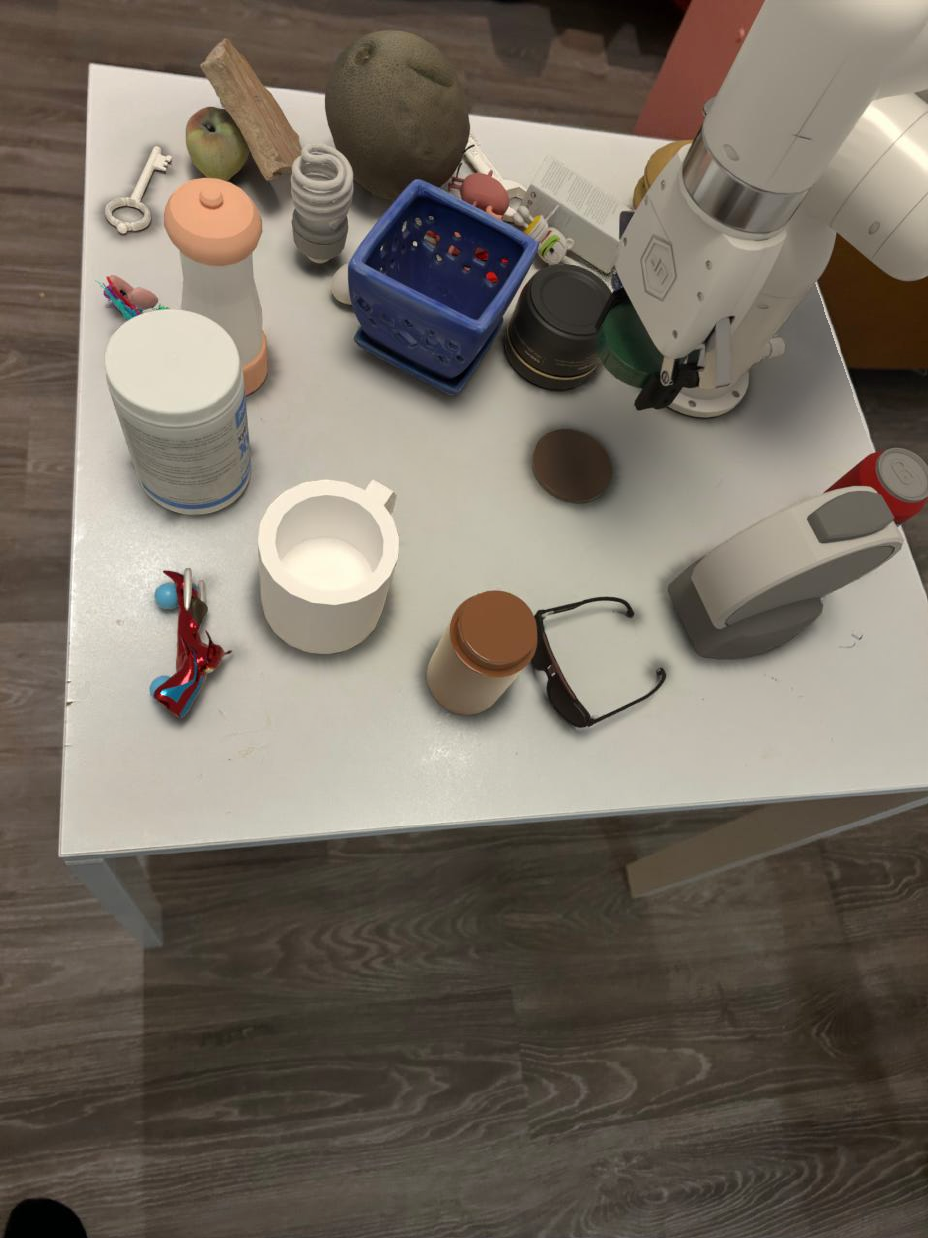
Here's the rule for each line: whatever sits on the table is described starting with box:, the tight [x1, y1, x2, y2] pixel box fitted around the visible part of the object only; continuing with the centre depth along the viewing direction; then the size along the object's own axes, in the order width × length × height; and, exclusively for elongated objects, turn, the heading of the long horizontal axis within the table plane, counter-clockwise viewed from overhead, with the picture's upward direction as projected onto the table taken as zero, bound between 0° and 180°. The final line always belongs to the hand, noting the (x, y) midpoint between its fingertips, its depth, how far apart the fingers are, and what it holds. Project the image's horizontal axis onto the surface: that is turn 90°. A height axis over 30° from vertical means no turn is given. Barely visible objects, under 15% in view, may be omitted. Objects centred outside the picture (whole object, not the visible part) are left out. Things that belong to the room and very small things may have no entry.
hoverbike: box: [148, 567, 233, 719], centre depth 63 cm, size 5×12×6 cm
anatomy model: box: [94, 274, 170, 322], centre depth 72 cm, size 5×8×7 cm, turn 60°
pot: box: [632, 139, 694, 210], centre depth 90 cm, size 12×12×10 cm
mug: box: [257, 479, 400, 655], centre depth 65 cm, size 14×10×11 cm
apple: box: [185, 106, 250, 182], centre depth 82 cm, size 6×8×6 cm
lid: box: [596, 301, 688, 389], centre depth 63 cm, size 7×7×2 cm
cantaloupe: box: [324, 29, 471, 201], centre depth 82 cm, size 14×14×15 cm
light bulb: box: [290, 142, 354, 264], centre depth 77 cm, size 6×6×12 cm
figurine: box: [425, 170, 510, 255], centre depth 86 cm, size 12×3×7 cm
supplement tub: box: [103, 308, 252, 516], centre depth 65 cm, size 10×10×15 cm
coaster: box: [531, 428, 613, 504], centre depth 79 cm, size 8×8×1 cm
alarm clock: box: [667, 486, 905, 660], centre depth 69 cm, size 16×10×18 cm, turn 110°
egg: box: [330, 261, 382, 306], centre depth 80 cm, size 4×6×4 cm
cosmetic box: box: [516, 154, 632, 274], centre depth 88 cm, size 6×4×12 cm
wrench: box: [464, 131, 528, 223], centre depth 92 cm, size 25×5×2 cm, turn 33°
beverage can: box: [821, 447, 928, 528], centre depth 77 cm, size 7×7×12 cm
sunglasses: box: [530, 596, 667, 729], centre depth 70 cm, size 10×12×5 cm
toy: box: [455, 145, 574, 267], centre depth 84 cm, size 7×3×15 cm
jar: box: [504, 263, 613, 390], centre depth 81 cm, size 10×10×8 cm
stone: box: [199, 37, 307, 182], centre depth 81 cm, size 13×12×3 cm
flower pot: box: [348, 179, 539, 396], centre depth 76 cm, size 13×13×12 cm
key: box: [104, 145, 173, 234], centre depth 81 cm, size 12×1×4 cm
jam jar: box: [426, 589, 537, 716], centre depth 64 cm, size 7×7×12 cm
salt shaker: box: [163, 177, 269, 396], centre depth 67 cm, size 7×7×19 cm
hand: (631, 364), depth 65 cm, fingers closed on lid, 6 cm apart
